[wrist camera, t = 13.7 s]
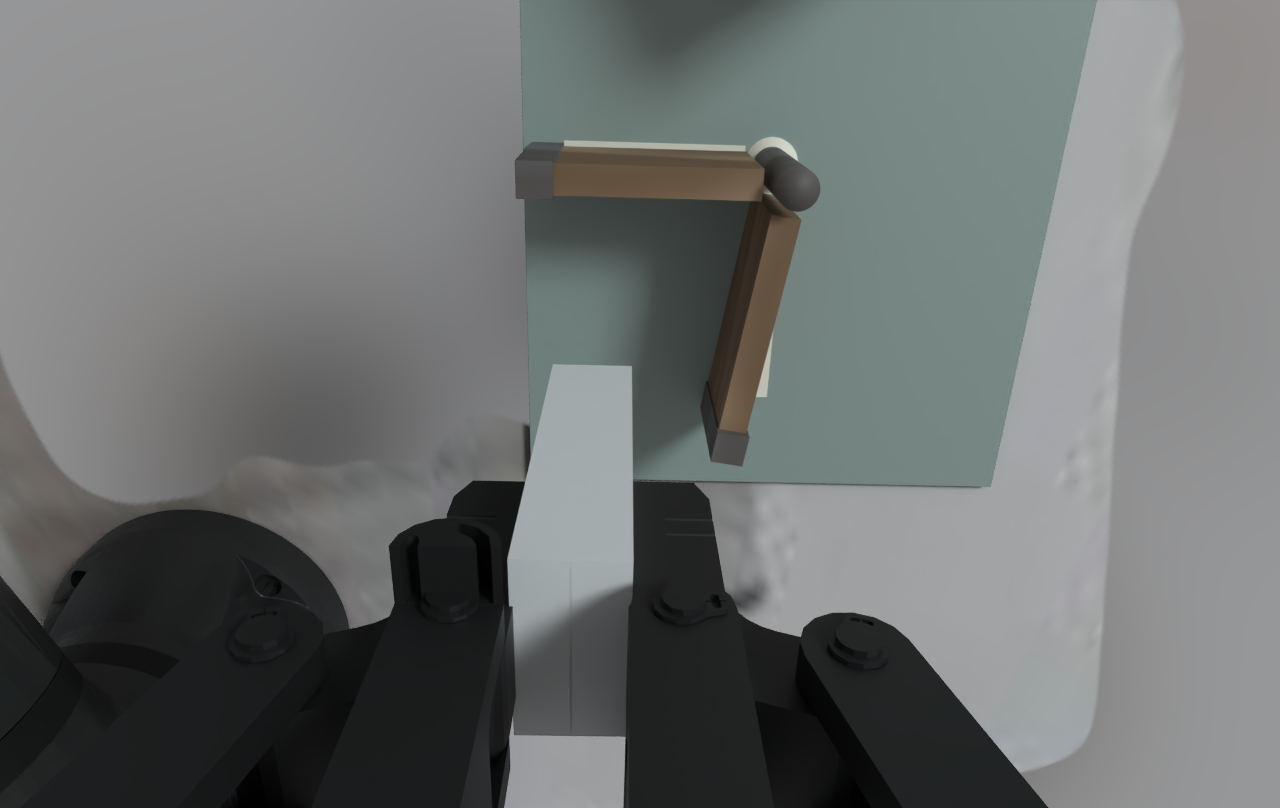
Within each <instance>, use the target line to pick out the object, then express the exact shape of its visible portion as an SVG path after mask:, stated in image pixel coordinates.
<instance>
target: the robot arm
mask: <svg viewBox="0 0 1280 808" xmlns="http://www.w3.org/2000/svg"><path fill="white" fill-rule="evenodd" d="M389 552H390V562H391V572H392V581H393V591H394V601H395V604H394V607H393V609H392V612H391V614H390V616H389V617H388V618H385V619H383V620H381V621H378V622H376V623H373V624H369V625H365V626H361V627H358V628H352V629H349V625H348V620H347V616H346V612H345V610H344V607H343V604H342V602H341V600H340V597H339V595H338V594H337V592H336V590H335V588H334V587H333V585H332V584H331V582H330V581H329V579H328V578H327V577H326V575H325V574H324V573H323V571H322V570H321V569H320V568H319V567H318V566H317V565H316V564H315V563H314V562H313V561H312V560H311V559H310V558H309V557H308V556H307V555H306V554H305V553H303V552H302V551H301V550H300V549H299V548H297V547H296V546H295V545H293V544H292V543H290V542H289V541H287V540H286V539H284V538H283V537H281V536H279V535H278V534H276V533H274V532H272V531H270V530H268V529H266V528H264V527H262V526H260V525H257V524H255V523H252V522H250V521H247V520H244V519H241V518H238V517H234V516H231V515H226V514H222V513H217V512H211V511H202V510H171V511H163V512H157V513H152V514H148V515H145V516H141V517H138V518H135V519H133V520H130V521H128V522H126V523H124V524H122V525H120V526H118V527H117V528H115V529H113V530H112V531H110V532H109V533H108V534H106V535H105V536H104V537H103V538H102V539H100V540H99V541H98V542H97V543H96V544H95V545H94V546H93V547H92V548H91V549H90V550H89V551H88V552H87V553H86V554H85V555H84V556H82V557H81V558H80V559H79V560H78V561H77V562H76V564H75V565H74V566H73V567H72V568H71V569H70V571H69V572H68V573H67V575H66V576H65V578H64V579H63V581H62V582H61V584H60V586H59V588H58V590H57V592H56V595H55V597H54V600H53V602H52V605H51V607H50V609H49V611H48V614H47V616H46V619H45V621H44V624H43V626H41V624H40V623H39V622H38V621H37V620H36V618H35V617H34V616H33V615H32V614H31V612H30V611H29V610H28V609H27V608H26V606H25V605H24V604H23V603H22V602H21V600H20V599H19V598H18V597H17V596H16V594H15V593H14V592H13V591H12V590H11V588H10V587H9V586H8V585H7V584H6V582H5V581H4V580H3V579H2V577H1V576H0V808H504V804H505V798H506V792H507V785H508V779H509V773H510V747H509V735H510V729H511V723H512V717H513V722H514V735H548V736H621V737H626V744H625V778H624V808H1048V807H1047V806H1046V804H1045V803H1044V802H1043V801H1042V799H1041V798H1040V797H1039V796H1038V795H1037V794H1036V792H1035V791H1034V790H1033V789H1032V787H1031V786H1030V785H1029V784H1028V783H1027V781H1026V780H1025V779H1024V778H1023V777H1022V775H1021V774H1020V773H1019V772H1018V771H1017V769H1016V768H1015V767H1014V766H1013V765H1012V763H1011V762H1010V761H1009V760H1008V758H1007V757H1006V756H1005V755H1004V754H1003V752H1002V751H1001V750H1000V749H999V748H998V746H997V745H996V744H995V743H994V742H993V740H992V739H991V738H990V737H989V736H988V734H987V733H986V732H985V731H984V730H983V728H982V727H981V726H980V725H979V724H978V722H977V721H976V720H975V719H974V717H973V716H972V715H971V714H970V713H969V711H968V710H967V709H966V708H965V707H964V705H963V704H962V703H961V702H960V701H959V699H958V698H957V697H956V696H955V695H954V693H953V692H952V691H951V690H950V689H949V687H948V686H947V685H946V684H945V683H944V681H943V680H942V679H941V678H940V677H939V675H938V674H937V673H936V672H935V670H934V669H933V668H932V667H931V666H930V664H929V663H928V662H927V661H926V660H925V658H924V657H923V656H922V655H921V654H920V652H919V651H918V650H917V649H916V648H915V646H914V645H913V644H912V643H911V642H910V640H909V639H908V638H906V637H905V636H904V635H903V634H902V633H901V632H899V631H898V630H897V629H896V628H895V627H893V626H891V625H889V624H887V623H885V622H883V621H881V620H879V619H877V618H874V617H870V616H865V615H861V614H857V613H830V614H827V615H824V616H820V617H817V618H815V619H813V620H812V621H811V622H810V623H809V624H808V625H806V626H805V627H804V628H803V632H802V635H801V637H798V636H793V635H789V634H785V633H781V632H777V631H774V630H770V629H767V628H764V627H761V626H759V625H757V624H755V623H753V622H751V621H749V620H747V619H746V618H745V617H743V616H742V615H741V614H739V613H738V610H737V607H736V605H735V603H734V601H733V599H732V597H731V596H730V595H729V594H728V593H726V592H725V589H724V583H723V577H722V571H721V566H720V560H719V554H718V548H717V543H716V537H715V531H714V525H713V521H712V514H711V508H710V502H709V499H708V498H707V497H706V496H705V495H704V493H703V492H702V491H701V490H700V489H699V488H698V487H697V486H696V485H695V484H694V483H676V482H633V440H632V366H607V365H565V364H553V366H552V370H551V374H550V379H549V383H548V387H547V392H546V396H545V400H544V404H543V409H542V413H541V417H540V422H539V426H538V430H537V434H536V439H535V443H534V447H533V452H532V456H531V460H530V464H529V469H528V473H527V477H526V481H525V482H515V481H472V482H471V483H470V484H468V485H467V486H466V487H465V488H464V489H462V490H461V491H460V492H459V493H458V494H456V495H455V496H454V498H453V500H452V503H451V505H450V508H449V511H448V513H447V518H446V519H434V520H431V521H427V522H424V523H420V524H417V525H414V526H412V527H410V528H409V529H407V530H405V531H403V532H402V533H400V534H398V535H397V537H396V538H395V539H394V540H393V541H392V543H391V544H390V545H389Z"/></svg>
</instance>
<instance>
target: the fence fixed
mask: <svg viewBox="0 0 1280 808" xmlns="http://www.w3.org/2000/svg"><path fill="white" fill-rule="evenodd" d="M515 179H516V181H515V182H516V198H517V199H552V200H553V198H554V196H589V197H625V198H661V199H697V200H732V201H762V195H763V185H764V186H765V187H766V188H767V189H768V190H769V191H770V192H771V193H772V194H773V195H774V197H775V198H776V199H777V200H778V201H779V202H780V203H781V204H782V205H783V206H784V207H785V208H786V209H788V210H790V211H794V212H801V211H805V210H807V209H809V208H810V207H812V206H813V205H814V204H815V203H816V201H817V199H818V197H819V195H820V182H819V179H818V178H817V176H816V175H815V174H814V173H813V172H812V171H810V170H809V169H808V168H806V167H805V166H804V165H802V164H801V163H799V162H798V161H797V160H795V159H794V158H793V157H791V156H790V155H789V154H787V153H786V152H784V151H783V150H782V149H780V148H778V147H767V148H764V149H763V150H761V151H760V152H759V153H758V154H757V155H756V157H755V159H754V158H753V157H751V156H750V155H749V154H748V153H747V152H746V151H712V150H678V149H644V148H609V147H575V146H564V143H556V142H532V143H531V144H530V145H529V146H528V147H527V148H526V149H525V150H524V151H523V152H522V153H521V154H520V156H519V157H518V158H517V159H516V160H515Z"/></svg>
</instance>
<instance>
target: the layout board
mask: <svg viewBox="0 0 1280 808" xmlns="http://www.w3.org/2000/svg"><path fill="white" fill-rule="evenodd" d="M1096 3H1097V0H520V28H521V69H522V113H523V151H524V150H525V149H526V148H527V147H528V146H529V145H530V144H531V143H532V142H556V143H564V146H575V147H609V148H644V149H678V150H712V151H746V152H747V153H748V154H749V155H750V156H751V157H753V158H754V159H755V157H756V155H757V154H758V153H759V152H760V151H761V150H763V149H764V148H767V147H778V148H780V149H782V150H783V151H784V152H786V153H787V154H789V155H790V156H791V157H793V158H794V159H795V160H797V161H798V162H799V163H801V164H802V165H804V166H805V167H806V168H808V169H809V170H810V171H812V172H813V173H814V174H815V175H816V176H817V178H818V179H819V182H820V195H819V197H818V199H817V201H816V203H815V204H814V205H813V206H812V207H810V208H809V209H807V210H805V211H801V212H794V213H795V214H796V215H797V216H798V217H799V218H800V219H801V220H802V221H801V225H800V229H799V233H798V237H797V240H796V244H795V248H794V252H793V256H792V260H791V263H790V267H789V271H788V275H787V279H786V283H785V287H784V290H783V294H782V298H781V302H780V306H779V310H778V313H777V317H776V321H775V325H774V329H773V333H772V337H771V340H770V344H769V348H768V352H767V356H766V360H765V364H764V367H763V371H762V375H761V379H760V383H759V387H758V390H757V394H756V398H755V402H754V406H753V410H752V414H751V417H750V421H749V425H748V429H747V430H748V434H749V437H750V439H749V443H748V447H747V450H746V454H745V458H744V462H743V466H742V467H741V466H735V465H729V464H723V463H716V462H711V461H710V456H709V450H708V445H707V440H706V435H705V430H704V425H703V419H702V414H701V409H700V405H701V401H702V397H703V393H704V388H705V384H706V381H708V380H709V376H710V372H711V367H712V363H713V359H714V354H715V350H716V346H717V342H718V337H719V333H720V329H721V325H722V320H723V316H724V312H725V307H726V303H727V299H728V295H729V290H730V286H731V282H732V278H733V273H734V269H735V265H736V260H737V256H738V252H739V248H740V243H741V239H742V235H743V231H744V226H745V222H746V218H747V213H748V209H749V205H750V201H732V200H697V199H661V198H625V197H589V196H554V198H553V200H552V199H525V236H526V237H525V238H526V279H527V321H528V322H527V323H528V360H529V361H528V362H529V363H528V365H529V406H530V449H531V456H532V452H533V447H534V443H535V439H536V434H537V430H538V426H539V422H540V417H541V413H542V409H543V404H544V400H545V396H546V392H547V387H548V383H549V379H550V374H551V370H552V366H553V364H565V365H607V366H632V440H633V479H634V480H682V481H731V482H780V483H829V484H878V485H927V486H976V487H991V483H992V478H993V474H994V469H995V465H996V460H997V455H998V451H999V446H1000V442H1001V437H1002V433H1003V428H1004V423H1005V419H1006V414H1007V410H1008V405H1009V401H1010V396H1011V391H1012V387H1013V382H1014V378H1015V373H1016V369H1017V364H1018V359H1019V355H1020V350H1021V346H1022V341H1023V337H1024V332H1025V327H1026V323H1027V318H1028V314H1029V309H1030V305H1031V300H1032V295H1033V291H1034V286H1035V282H1036V277H1037V272H1038V268H1039V263H1040V259H1041V254H1042V250H1043V245H1044V240H1045V236H1046V231H1047V227H1048V222H1049V218H1050V213H1051V208H1052V204H1053V199H1054V195H1055V190H1056V186H1057V181H1058V176H1059V172H1060V167H1061V163H1062V158H1063V154H1064V149H1065V144H1066V140H1067V135H1068V131H1069V126H1070V122H1071V117H1072V112H1073V108H1074V103H1075V99H1076V94H1077V90H1078V85H1079V80H1080V76H1081V71H1082V67H1083V62H1084V57H1085V53H1086V48H1087V44H1088V39H1089V35H1090V30H1091V25H1092V21H1093V16H1094V12H1095V7H1096ZM763 193H766V194H771V195H773V194H772V193H771V192H770V191H769V190H768V189H767V188H766V187H765V186H764V185H763Z"/></svg>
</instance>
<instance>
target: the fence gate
mask: <svg viewBox="0 0 1280 808" xmlns="http://www.w3.org/2000/svg"><path fill="white" fill-rule="evenodd" d="M801 221H802V220H801V219H800V218H799V217H798V216H797V215H796V214H795V213H794V211H790V210H788V209H786V208H785V207H784V206H783V205H782V204H781V203H780V202H779V201H778V200H777V199H776V198H775V197H774V195H771V194H766V193H763V195H762V201H750V205H749V209H748V213H747V218H746V222H745V226H744V231H743V235H742V239H741V243H740V248H739V252H738V256H737V260H736V265H735V269H734V273H733V278H732V282H731V286H730V290H729V295H728V299H727V303H726V307H725V312H724V316H723V320H722V325H721V329H720V333H719V337H718V342H717V346H716V350H715V354H714V359H713V363H712V367H711V372H710V376H709V380H708V381H706V384H705V388H704V393H703V397H702V401H701V405H700V409H701V414H702V419H703V425H704V430H705V435H706V440H707V445H708V450H709V456H710V461H711V462H716V463H723V464H729V465H735V466H741V467H742V466H743V462H744V458H745V454H746V450H747V447H748V443H749V439H750V437H749V434H748V430H747V429H748V425H749V421H750V417H751V414H752V410H753V406H754V402H755V398H756V394H757V390H758V387H759V383H760V379H761V375H762V371H763V367H764V364H765V360H766V356H767V352H768V348H769V344H770V340H771V337H772V333H773V329H774V325H775V321H776V317H777V313H778V310H779V306H780V302H781V298H782V294H783V290H784V287H785V283H786V279H787V275H788V271H789V267H790V263H791V260H792V256H793V252H794V248H795V244H796V240H797V237H798V233H799V229H800V225H801Z"/></svg>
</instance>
